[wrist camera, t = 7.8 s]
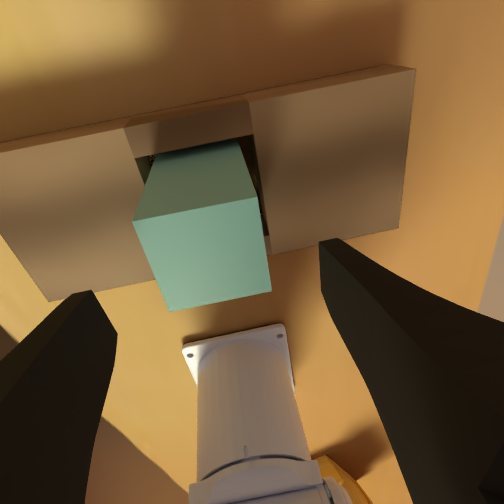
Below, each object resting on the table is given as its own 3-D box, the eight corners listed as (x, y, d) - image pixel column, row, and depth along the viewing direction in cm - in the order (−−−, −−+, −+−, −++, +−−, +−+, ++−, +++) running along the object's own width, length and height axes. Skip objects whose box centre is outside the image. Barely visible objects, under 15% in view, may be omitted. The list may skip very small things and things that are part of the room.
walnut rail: (378, 208, 20) (398, 228, 18) (64, 274, 20) (48, 302, 18) (388, 64, 16) (416, 68, 14) (-17, 146, 16) (-51, 162, 14)
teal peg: (247, 202, 19) (272, 291, 13) (180, 215, 19) (169, 312, 12) (235, 133, 17) (257, 197, 10) (158, 147, 17) (131, 221, 10)
